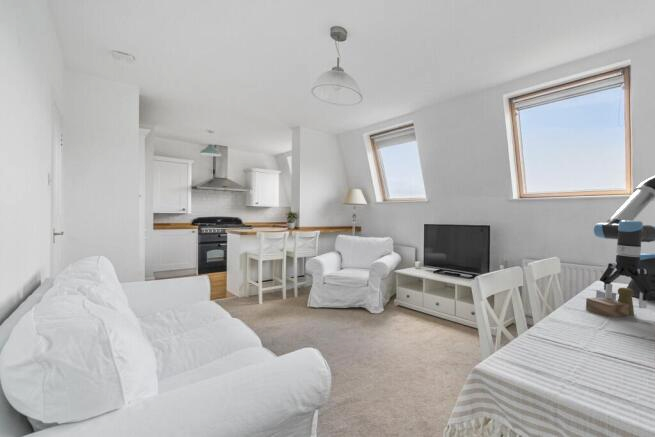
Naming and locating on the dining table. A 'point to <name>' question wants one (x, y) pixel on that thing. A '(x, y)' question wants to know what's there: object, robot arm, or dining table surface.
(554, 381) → the dining table surface
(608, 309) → the walnut block
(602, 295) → the slate block
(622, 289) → the cork
